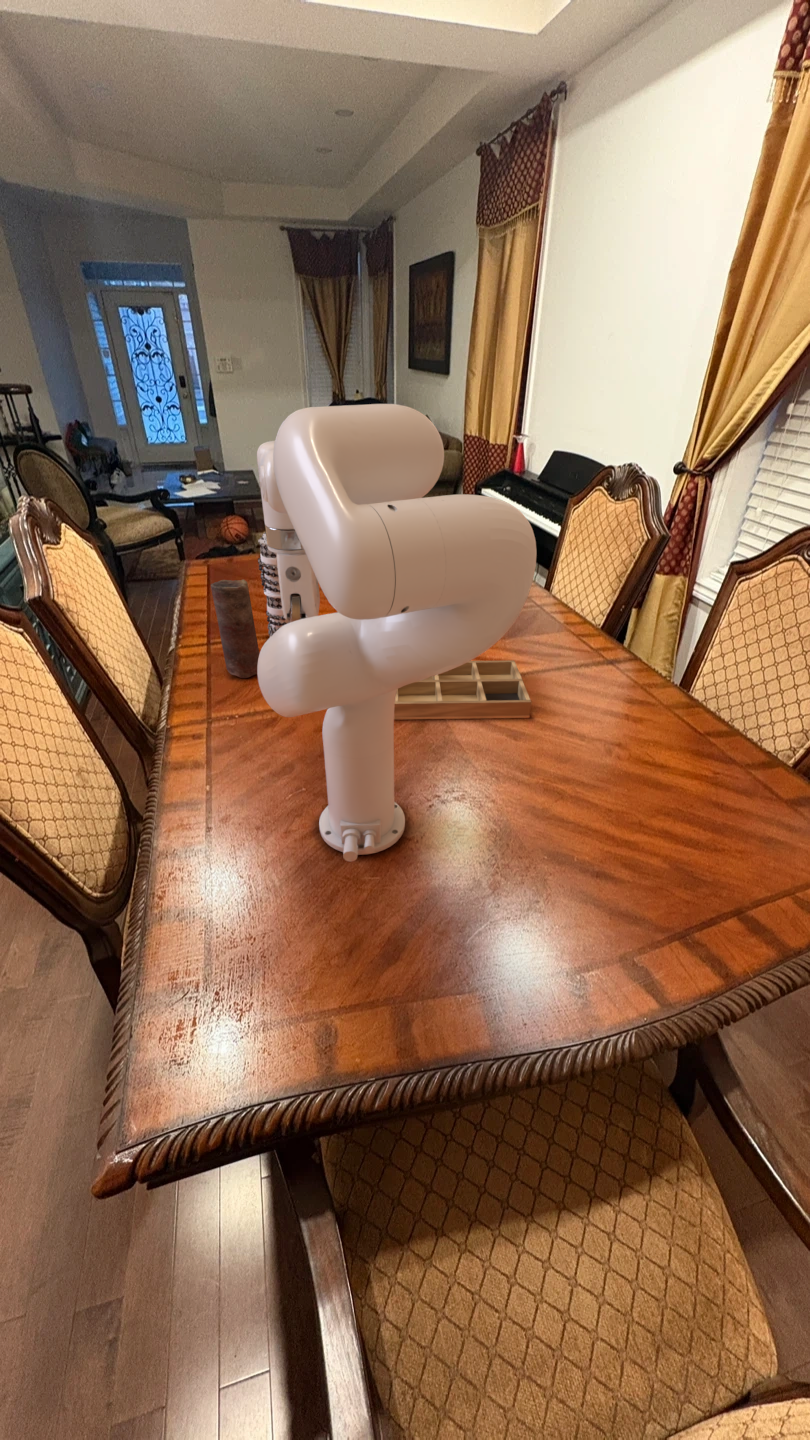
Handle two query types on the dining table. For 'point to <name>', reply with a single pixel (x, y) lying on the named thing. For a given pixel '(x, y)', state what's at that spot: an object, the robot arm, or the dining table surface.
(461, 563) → the robot arm
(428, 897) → the dining table surface
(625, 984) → the dining table surface
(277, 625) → the decorative candle
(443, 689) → the wooden compartment tray
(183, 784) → the dining table surface
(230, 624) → the candle
